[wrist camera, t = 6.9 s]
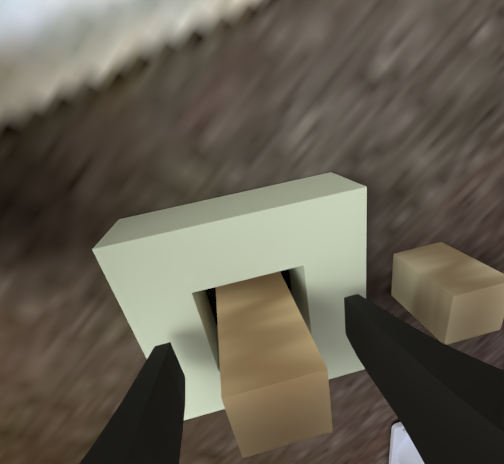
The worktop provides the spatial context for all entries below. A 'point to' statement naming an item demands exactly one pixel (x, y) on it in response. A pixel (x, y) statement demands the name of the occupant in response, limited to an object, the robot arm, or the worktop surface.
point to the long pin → (269, 366)
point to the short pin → (448, 292)
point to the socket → (240, 270)
